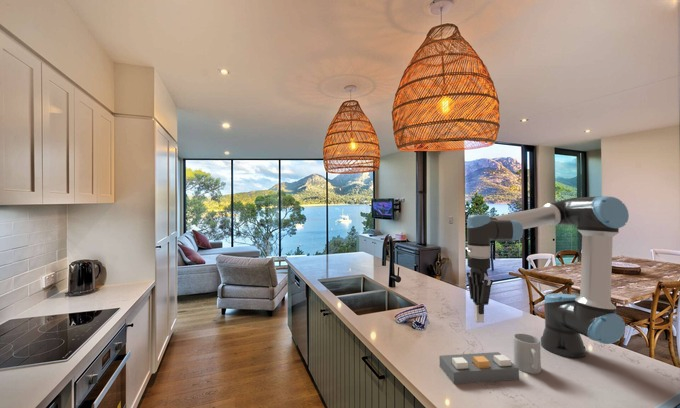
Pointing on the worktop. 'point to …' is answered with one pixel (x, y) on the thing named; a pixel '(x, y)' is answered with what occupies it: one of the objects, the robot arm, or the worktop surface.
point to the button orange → (481, 362)
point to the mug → (527, 353)
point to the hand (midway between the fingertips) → (479, 321)
